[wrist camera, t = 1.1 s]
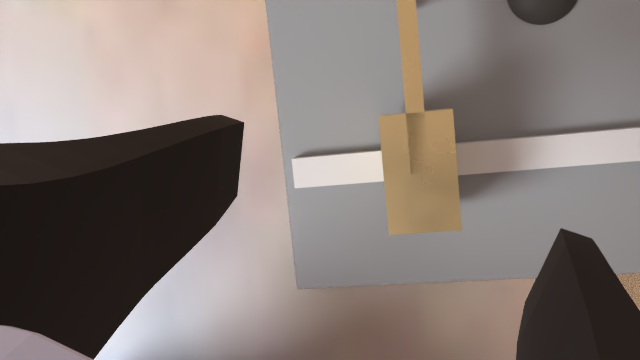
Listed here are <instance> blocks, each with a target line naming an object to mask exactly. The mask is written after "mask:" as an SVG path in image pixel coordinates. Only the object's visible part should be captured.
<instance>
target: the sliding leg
mask: <svg viewBox="0 0 640 360" xmlns="http://www.w3.org/2000/svg"><path fill="white" fill-rule="evenodd" d="M396 2H397V14H398V26H399V38H400V50H401V62H402V74H403V86H404V98H405V110H406V112H404V113H394V114H384V115H380V116H378V120H379V131H380V142H381V153H382V165H383V176H384V187H385V198H386V209H387V221H388V232H389V235H399V234H415V233H431V232H447V231H462V226H461V212H460V198H459V185H458V171H457V158H456V144H455V130H454V117H453V109H450V108H443V109H433V110H424V99H423V86H422V74H421V61H420V49H419V36H418V23H417V11H416V0H396Z"/></svg>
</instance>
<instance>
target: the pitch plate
mask: <svg viewBox="0 0 640 360" xmlns="http://www.w3.org/2000/svg"><path fill="white" fill-rule="evenodd" d="M265 2H266V11H267V20H268V29H269V38H270V48H271V57H272V66H273V75H274V84H275V93H276V102H277V111H278V120H279V129H280V138H281V147H282V156H283V165H284V174H285V183H286V192H287V201H288V210H289V219H290V228H291V237H292V246H293V255H294V264H295V273H296V282H297V289H312V288H333V287H354V286H375V285H396V284H417V283H437V282H458V281H479V280H500V279H521V278H537V276H538V274H539V272H540V270H541V268H542V266H543V264H544V262H545V260H546V258H547V256H548V254H549V251H550V249H551V247H552V245H553V243H554V241H555V239H556V237H557V235H558V233H559V231H560V229H561V228H562V229H565V230H568V231H571V232H574V233H577V234H580V235H583V236H586V237H589V238H592V239H593V240H594V242H595V243H596V244H597V246H598V247H599V249H600V251H601V252H602V254H603V255H604V257H605V259H606V260H607V262H608V263H609V265H610V267H611V268H612V270H613V271H614V273H615V274H626V273H640V0H416V11H417V23H418V36H419V49H420V61H421V74H422V86H423V99H424V110H433V109H443V108H450V109H453V117H454V130H455V144H456V158H457V171H458V185H459V198H460V212H461V226H462V231H447V232H431V233H415V234H399V235H389V232H388V221H387V209H386V198H385V187H384V176H383V165H382V153H381V142H380V131H379V120H378V116H380V115H384V114H394V113H404V112H406V110H405V98H404V86H403V74H402V62H401V50H400V38H399V26H398V14H397V2H396V0H265Z"/></svg>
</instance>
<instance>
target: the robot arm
mask: <svg viewBox="0 0 640 360" xmlns="http://www.w3.org/2000/svg"><path fill="white" fill-rule="evenodd" d="M243 130H244V122H241V121H238V120H235V119H232V118H229V117H226V116H223V115H214V116H207V117H201V118H195V119H190V120H185V121H181V122H176V123H171V124H166V125H162V126H157V127H152V128H147V129H142V130H137V131H131V132H125V133H120V134H114V135H108V136H103V137H95V138H88V139H79V140H69V141H58V142H40V143H5V144H0V360H94V358H95V357H96V356H97V354H98V353H99V352H100V350H101V349H102V348H103V347H104V345H105V344H106V343H107V341H108V340H109V339H110V337H111V336H112V335H113V333H114V332H115V331H116V330H117V328H118V327H119V326H120V325H121V323H122V322H123V321H124V320H125V319H126V317H127V316H128V315H129V314H130V312H131V311H132V310H133V309H134V307H135V306H136V305H137V304H138V303H139V301H140V300H141V299H142V298H143V297H144V296H145V295H146V293H147V292H148V291H149V290H150V289H151V288H152V287H153V286H154V285H155V284H156V283H157V282H158V281H159V280H160V279H161V278H162V277H163V276H164V275H165V274H166V273H167V272H168V271H169V270H170V269H171V268H172V267H173V266H174V265H175V264H176V263H177V262H179V261H180V260H181V259H182V258H183V257H184V256H185V255H186V254H187V253H188V252H189V251H190V250H191V249H192V248H193V247H194V246H195V245H196V244H197V243H198V242H199V241H200V240H201V239H202V238H203V237H204V236H205V235H206V234H207V233H208V232H209V231H210V230H211V229H212V228H213V227H214V226H215V225H216V223H217V222H218V221H219V220H220V218H221V217H222V216H223V214H224V213H225V212H226V210H227V209H228V208H229V206H230V205H231V204H232V202H233V201H234V199H235V198H236V197H237V192H238V182H239V171H240V161H241V150H242V140H243ZM516 360H640V310H639V309H638V308H637V306H636V305H635V303H634V302H633V300H632V299H631V297H630V296H629V294H628V293H627V291H626V290H625V288H624V287H623V285H622V284H621V282H620V281H619V279H618V278H617V276H616V274H615V273H614V271H613V270H612V268H611V267H610V265H609V263H608V262H607V260H606V259H605V257H604V255H603V254H602V252H601V251H600V249H599V247H598V246H597V244H596V243H595V242H594V240H593V239H592V238H589V237H586V236H583V235H580V234H577V233H574V232H571V231H568V230H565V229H562V228H561V229H560V231H559V233H558V235H557V237H556V239H555V241H554V243H553V245H552V247H551V249H550V251H549V254H548V256H547V258H546V260H545V262H544V264H543V266H542V268H541V270H540V272H539V274H538V276H537V278H536V281H535V283H534V285H533V287H532V289H531V291H530V293H529V295H528V297H527V299H526V301H525V305H524V310H523V315H522V320H521V325H520V330H519V336H518V341H517V356H516Z"/></svg>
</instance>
